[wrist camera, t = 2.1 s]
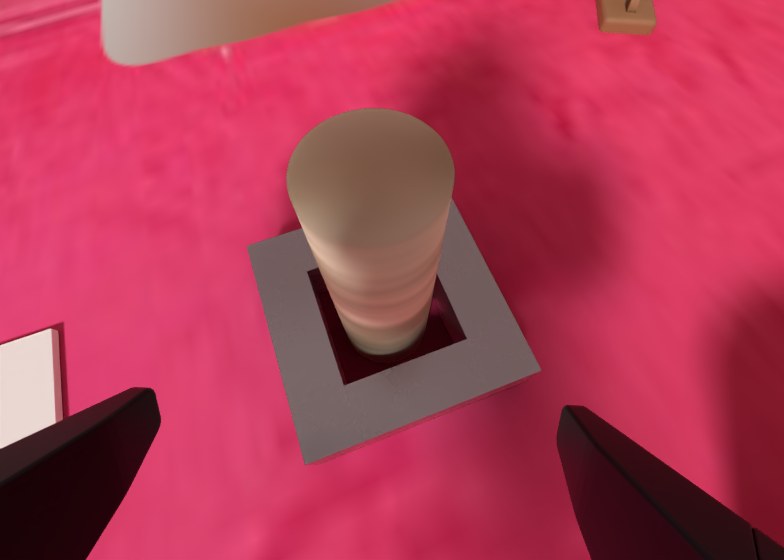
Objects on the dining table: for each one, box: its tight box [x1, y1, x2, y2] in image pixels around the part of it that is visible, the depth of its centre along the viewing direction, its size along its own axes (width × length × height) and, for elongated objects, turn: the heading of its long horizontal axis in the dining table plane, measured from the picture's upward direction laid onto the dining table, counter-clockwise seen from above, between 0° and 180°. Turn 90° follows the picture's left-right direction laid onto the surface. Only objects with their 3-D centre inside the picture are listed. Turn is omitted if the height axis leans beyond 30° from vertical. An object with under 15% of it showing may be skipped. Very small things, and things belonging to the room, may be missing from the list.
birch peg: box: [286, 108, 455, 363], centre depth 17 cm, size 4×4×13 cm
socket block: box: [247, 197, 541, 465], centre depth 21 cm, size 11×11×3 cm
